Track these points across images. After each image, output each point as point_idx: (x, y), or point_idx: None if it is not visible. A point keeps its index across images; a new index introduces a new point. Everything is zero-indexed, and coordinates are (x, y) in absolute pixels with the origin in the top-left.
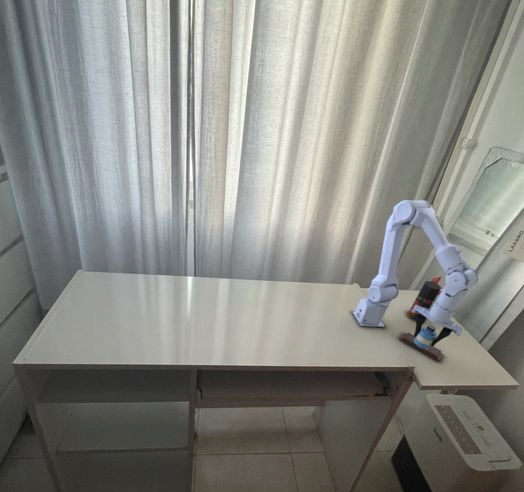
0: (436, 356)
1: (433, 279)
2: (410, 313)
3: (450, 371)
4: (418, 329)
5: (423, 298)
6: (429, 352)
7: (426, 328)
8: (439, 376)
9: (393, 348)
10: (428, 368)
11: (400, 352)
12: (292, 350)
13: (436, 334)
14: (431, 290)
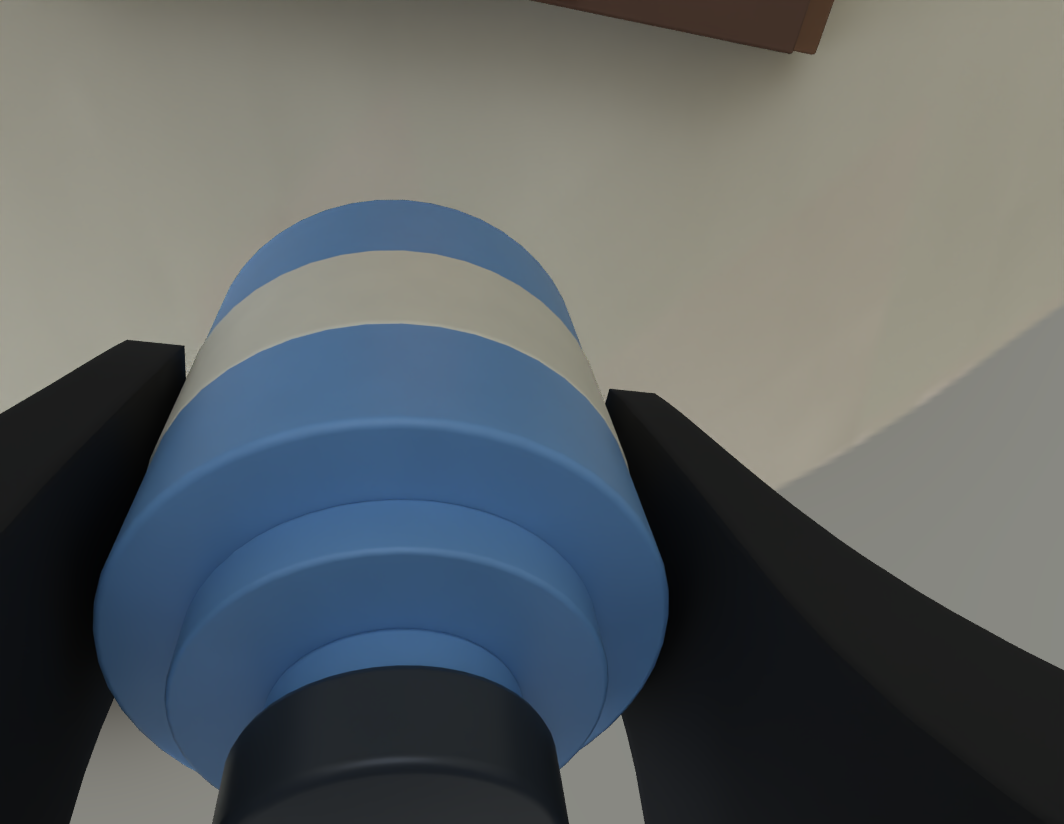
0: (762, 46)
1: None
2: None
3: (957, 163)
4: (72, 747)
5: None
6: (630, 18)
7: (252, 709)
8: (772, 391)
9: (63, 301)
10: (635, 348)
11: (196, 312)
12: None
13: (645, 593)
14: None
